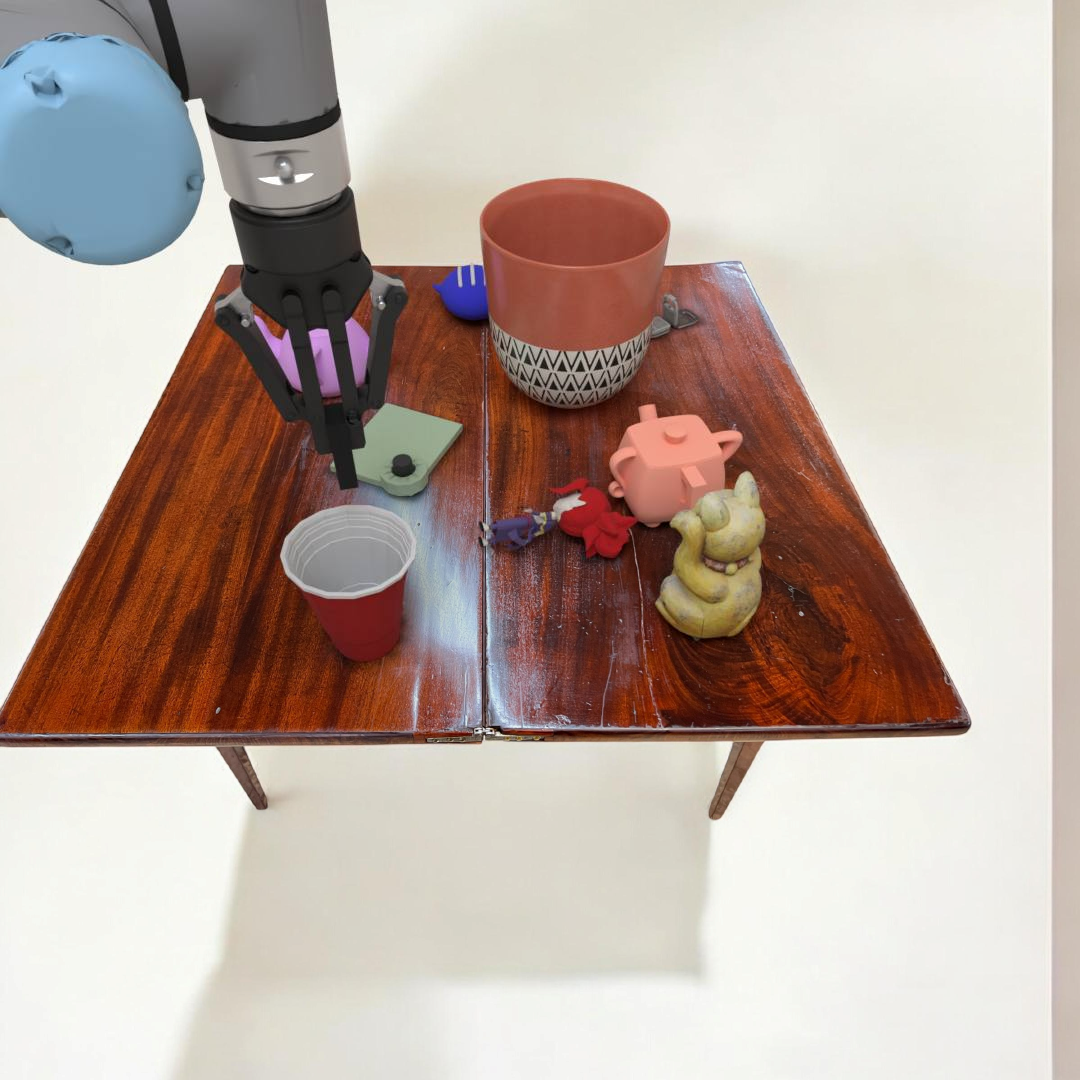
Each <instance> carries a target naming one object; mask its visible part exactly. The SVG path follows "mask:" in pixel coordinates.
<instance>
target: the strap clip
mask: <svg viewBox="0 0 1080 1080" xmlns="http://www.w3.org/2000/svg"><path fill="white" fill-rule="evenodd" d="M667 300H668V301H669V302H671V303H669V302H668V301H667ZM672 304H673V305H674V306H673V305H672ZM661 309H662V310H661V311H662V316H659V315H658V316H655V318H654V324H653V329H652V334H651V338H650V339H654V338H658V337H661V336H663V335H666V334H668V333H670V331H671V327H673V328H675V329H676V328H677V329H682V328H685V327H689V326H692V325H695V324H696V323H698V321H699V320H700V317H699V316H698V315H697V314H695V313H694V312H693V311H691V310H690V309H687V308H686V309H685V308H684V309H681V310H680V307H679V303H678V300H677V298H676V297H675V296H673V295H672V294H671V293H670V294H668V293H665V294H664V295H663V296H662V300H661ZM686 314H687V315H686ZM688 315H689V316H690V317H692V318H693V319H691V318H689V316H688Z"/></svg>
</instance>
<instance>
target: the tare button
mask: <svg viewBox="0 0 1080 1080" xmlns="http://www.w3.org/2000/svg"><path fill="white" fill-rule="evenodd" d="M392 462H393V469H394V473H395V475H397V476H399V477H407V476H409V475H411V474H412V472H413V465H412V458H411V457H410V456H409V455H407V454H399V455H397V456H395V457H394V458H393V460H392Z"/></svg>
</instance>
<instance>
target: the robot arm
mask: <svg viewBox="0 0 1080 1080" xmlns="http://www.w3.org/2000/svg"><path fill="white" fill-rule="evenodd" d="M329 21H330V20H329V14H328V7H327V0H0V218H1V219H8V220H9V221H10V222H11V223H12V225H14V226H15V228H16V229H18V231H20V232H21V233H22V234H23V235H24V236H26V237H27V238H29V240H31V241H33V242H35V243H36V244H38V245H40V246H41V247H43V248H45V249H47V250H48V251H51V252H52V253H55V254H56V255H59V256H61V257H65V258H68V259H70V260H72V261H75V262H78V263H82V264H88V265H93V266H94V265H95V266H119V265H127V264H132V263H135V262H139V261H142V260H145V259H148V258H150V257H152V256H155V255H156V254H158V253H160V252H162V251H163V250H165V249H167V248H168V247H170V246H172V244H174V242H176V241H177V240H178V239H179V238H180V237H181V236H182V234H183V233H184V232H185V231H186V229H188V227H189V226H190V224H191V222H192V221H193V219H194V217H195V216H196V214H197V211H198V207H199V205H200V203H201V198H202V193H203V190H204V183H205V180H206V176H205V169H204V161H203V156H202V150H201V147H200V143H199V140H198V138H197V134H196V131H195V129H194V127H193V124H192V122H191V118H190V113H189V108H188V106H187V104H186V103H188V102H189V101H192V100H199V99H201V103H202V104H203V107H204V114H205V118H206V122H207V125H208V126H207V127H208V130H209V135H210V138H211V142H212V146H213V150H214V153H215V158H216V162H217V166H218V170H219V174H220V177H221V181H222V182H221V183H222V186H223V190H224V191H225V193H226V194H227V195H228V196H229V197H230V200H229V203H228V209H229V213H230V216H231V221H232V225H233V229H234V232H235V236H236V240H237V245H238V248H239V252H240V255H241V259H242V264H243V265H242V269H241V271H240V275H239V279H240V285H238V287H237V288H235V289H234V290H233V291H232V292H231V293H229V294H226V293H220V294H218V295H216V296H215V298H214V323H215V325H216V326H217V327H218V328H219V329H220V330H222V331H223V332H224V333H225V334H226V335H228V337H230V338H231V339H232V340H234V341H235V342H236V343H237V345H238V346H239V347H240V349H241V351H242V353H243V354H244V357H246V359H247V361H248V363H249V365H250V366H251V368H252V369H253V372H254V373H255V375H256V376H257V378H258V379H259V382H260V383H261V384H262V387H263V388H264V390H265V392H266V393H267V395H268V397H269V398H270V399H271V402H272V403H273V405H274V406H275V409H276V410H277V412H278V413H279V415H280V417H281V418H282V419H283V420H284V422H287V423H295V422H297V421H298V420H299V421H304V422H306V423H308V425H309V426H310V429H311V435H312V439H313V443H314V447H315V451H316V452H317V454H318V455H319V456H323V455H324V456H325V455H332V458H333V459H332V460H333V461H334V464H335V469H336V473H335V474H336V478H337V483H338V487H339V491H340V492H341V491H346V490H352V489H359V486H360V485H359V480H357V474H356V468H355V463H354V458H353V452H352V450H355V449H361V448H364V447H365V444H366V440H365V434H364V425H363V424H364V423H363V415H364V413H365V412H367V411H368V410H374V411H377V410H380V409H381V408H382V407H383V406H384V405H385V399H386V392H387V385H388V379H389V371H390V365H391V360H392V359H391V358H392V351H393V346H394V345H393V344H394V338H395V331H396V324H397V321H398V319H399V318H400V317H401V314H402V313H403V311H404V309H405V308H406V306H407V304H408V302H409V295H408V292H407V289H406V285H405V282H404V279H403V277H402V275H400V274H399V273H390V274H388V275H386V274H384V273H381V272H379V271H377V270H375V269H373V268H372V263H371V260H370V259H369V257H368V256H367V254H365V252H364V251H363V247H362V241H361V234H360V227H359V220H358V213H357V207H356V206H357V205H356V201H355V200H356V199H355V193H354V191H353V189H352V188H351V186H349V184H350V182H351V181H352V172H351V165H350V158H349V152H348V145H347V138H346V132H345V126H344V125H345V124H344V118H343V112H342V108H341V104H340V98H339V93H338V85H337V84H338V83H337V78H336V70H335V69H336V68H335V61H334V52H333V45H332V38H331V37H332V36H331V29H330V22H329ZM368 290H370V291H369V292H370V293H369V295H370V300H371V304H372V306H373V308H372V315H371V324H370V332H369V338H370V339H369V347H368V354H367V362H366V370H365V378H364V383H363V384H362V385H361V386H360V387H358V388H356V382H355V376H354V371H353V365H352V359H351V354H350V348H349V342H348V336H347V330H346V325H345V323H346V322H347V321H348V320H349V319H350V318H351V317H352V318H353V315H354V313H355V311H356V310H357V309H358V307H359V305H360V304H361V302H362V300H363V299H364V297H365V296H366V293H367V292H368ZM252 304H253V305H254V306H256V308H258V309H259V310H260V311H262V312H263V313H264V314H265V315H267V316H268V317H269V318H270V319H271V320H273V321H274V322H275V323H276V324H277V325H279V326H280V327H282V328H283V329H285V330H288V332H289V336H290V341H291V345H292V349H293V352H294V356H295V361H296V365H297V370H298V374H299V379H300V383H301V388H302V392H301V393H302V394H297V392H296V391H295V388H293V387H292V385H291V384H290V382H289V380H288V378H287V376H286V375H285V373H284V371H283V369H282V368H281V366H280V364H279V362H278V360H277V359H276V357H275V355H274V353H273V352H272V350H271V348H270V346H269V344H268V343H267V341H266V339H265V337H264V336H263V334H262V332H261V330H260V328H259V327H258V325H257V323H256V322H255V320H254V319H255V317H254V315H255V309H254V306H253V305H252ZM315 329H327V330H328V332H329V338H330V343H331V347H332V353H333V358H334V363H335V368H336V373H337V378H338V384H339V389H340V394H341V395H340V398H341V402H340V401H339V402H333V403H332V402H331V403H327V404H324V399H323V398H324V397H322V393H321V388H320V383H319V379H318V374H317V369H316V364H315V359H314V354H313V349H312V345H311V340H310V335H309V332H310V331H312V330H315Z"/></svg>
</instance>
